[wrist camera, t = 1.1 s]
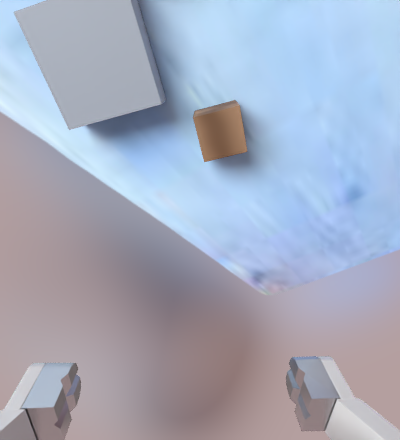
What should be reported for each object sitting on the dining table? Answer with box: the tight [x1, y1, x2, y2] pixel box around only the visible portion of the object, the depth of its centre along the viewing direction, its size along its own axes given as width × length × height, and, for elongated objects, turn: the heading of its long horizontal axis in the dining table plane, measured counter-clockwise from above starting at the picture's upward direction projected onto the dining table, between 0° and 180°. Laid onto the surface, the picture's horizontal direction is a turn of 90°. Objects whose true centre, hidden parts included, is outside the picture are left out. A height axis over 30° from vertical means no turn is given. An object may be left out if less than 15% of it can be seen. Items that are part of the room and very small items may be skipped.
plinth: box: [14, 0, 166, 130], centre depth 29 cm, size 11×11×4 cm
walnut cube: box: [193, 100, 247, 162], centre depth 32 cm, size 5×5×5 cm
